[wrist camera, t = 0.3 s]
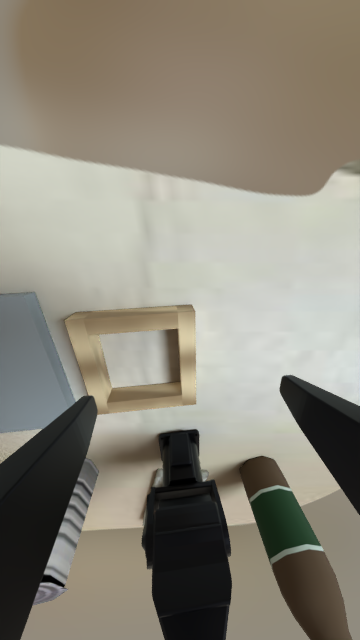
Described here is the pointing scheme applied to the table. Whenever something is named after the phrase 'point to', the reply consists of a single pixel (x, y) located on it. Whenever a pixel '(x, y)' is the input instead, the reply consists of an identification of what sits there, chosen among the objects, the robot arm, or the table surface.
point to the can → (68, 536)
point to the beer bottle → (295, 553)
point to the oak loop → (93, 323)
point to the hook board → (29, 367)
